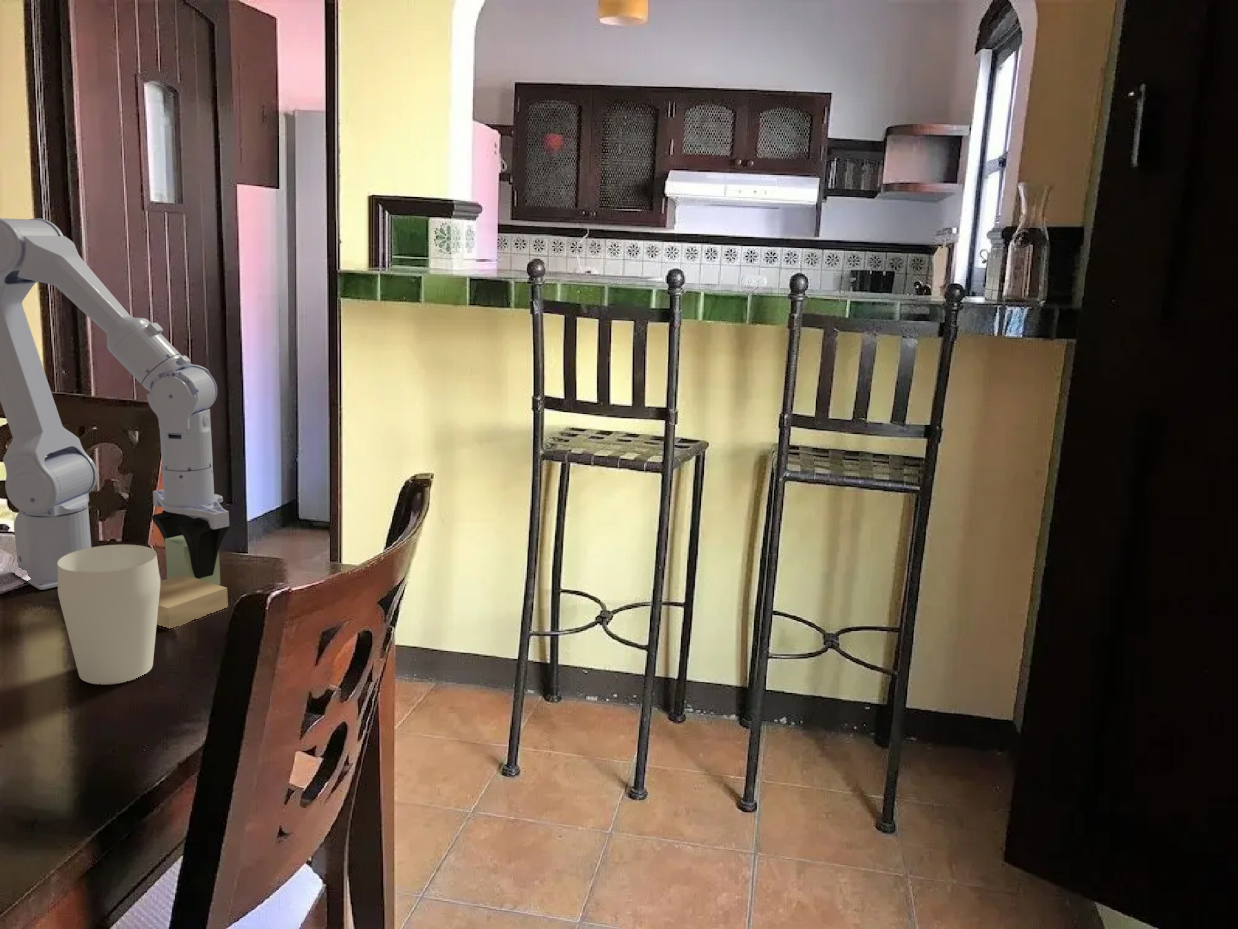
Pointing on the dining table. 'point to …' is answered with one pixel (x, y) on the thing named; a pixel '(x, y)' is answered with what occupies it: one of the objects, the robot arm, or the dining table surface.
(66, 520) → the robot arm
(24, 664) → the dining table surface
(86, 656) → the cup
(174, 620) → the beech base
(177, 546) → the green block
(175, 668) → the dining table surface
